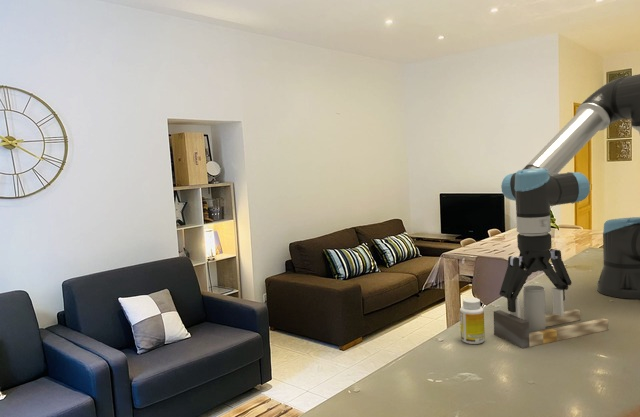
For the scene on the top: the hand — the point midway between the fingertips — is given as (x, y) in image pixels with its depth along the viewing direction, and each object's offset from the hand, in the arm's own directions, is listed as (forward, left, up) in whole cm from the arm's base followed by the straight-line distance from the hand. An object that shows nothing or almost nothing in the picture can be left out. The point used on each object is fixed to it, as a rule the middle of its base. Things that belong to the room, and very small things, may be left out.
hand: (537, 319), depth 119 cm
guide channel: (-5, 0, -4) cm, 6 cm away
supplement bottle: (+16, -4, -4) cm, 17 cm away
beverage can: (+1, 0, -4) cm, 4 cm away
